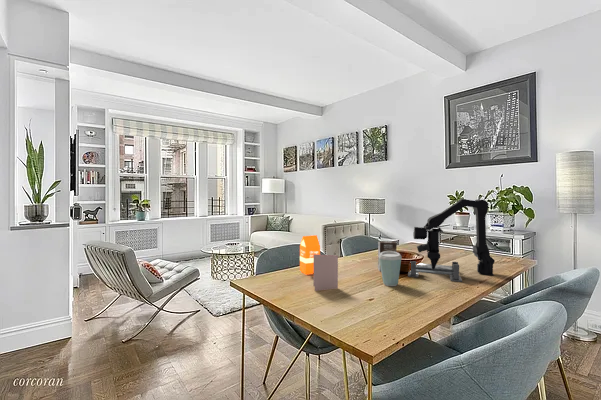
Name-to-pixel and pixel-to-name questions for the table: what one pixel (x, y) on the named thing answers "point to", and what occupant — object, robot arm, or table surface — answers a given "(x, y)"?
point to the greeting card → (325, 272)
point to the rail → (437, 267)
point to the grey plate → (434, 271)
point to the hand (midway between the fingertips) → (433, 267)
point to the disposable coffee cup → (390, 267)
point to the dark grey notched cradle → (453, 277)
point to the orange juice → (308, 253)
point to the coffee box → (385, 248)
